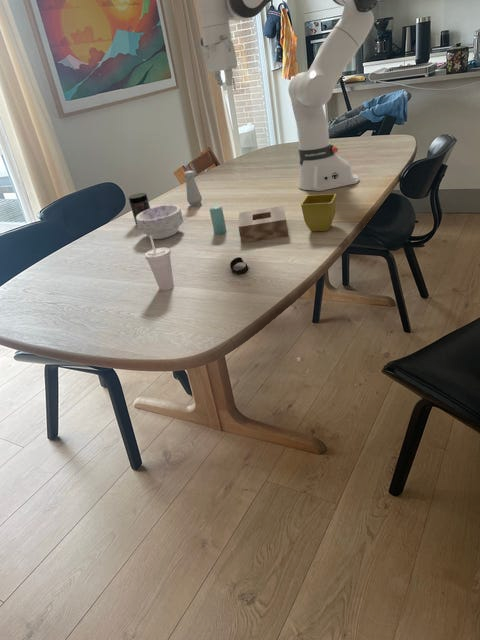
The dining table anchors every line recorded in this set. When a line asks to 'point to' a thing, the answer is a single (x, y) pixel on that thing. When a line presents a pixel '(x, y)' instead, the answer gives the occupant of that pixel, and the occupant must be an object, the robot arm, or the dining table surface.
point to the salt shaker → (192, 189)
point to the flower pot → (319, 211)
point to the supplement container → (138, 203)
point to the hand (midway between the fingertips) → (224, 86)
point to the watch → (236, 261)
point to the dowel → (218, 220)
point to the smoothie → (160, 266)
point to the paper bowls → (160, 221)
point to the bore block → (262, 224)
